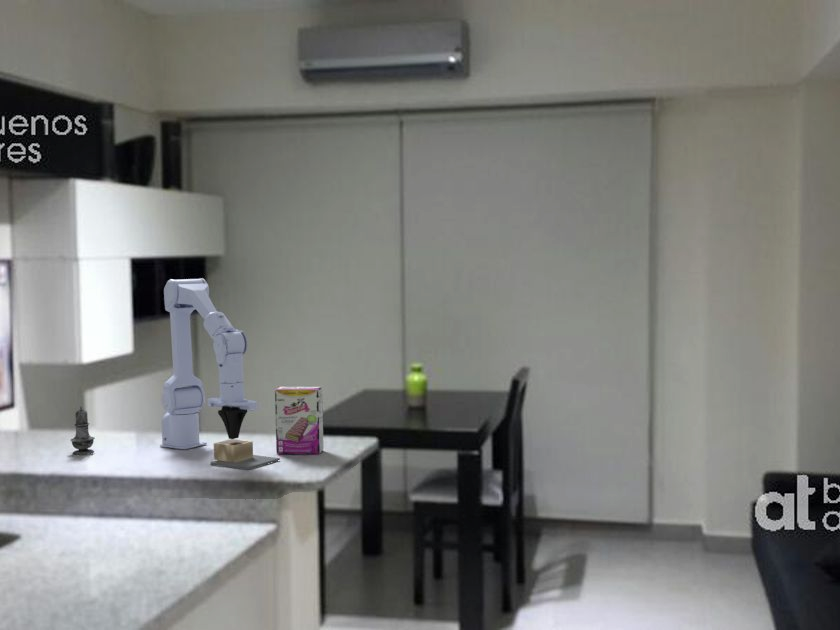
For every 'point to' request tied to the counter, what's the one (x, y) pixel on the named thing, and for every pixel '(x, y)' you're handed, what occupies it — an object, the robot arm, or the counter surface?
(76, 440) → the salt shaker
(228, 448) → the maple block
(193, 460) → the counter surface
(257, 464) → the grey plate
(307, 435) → the candy bar box
